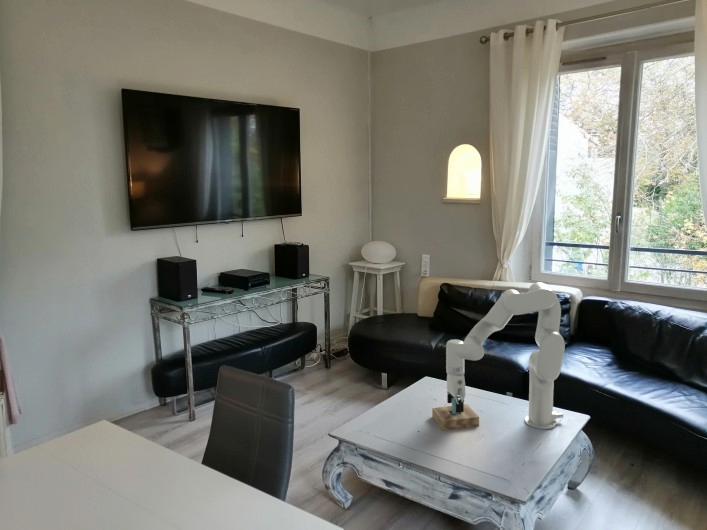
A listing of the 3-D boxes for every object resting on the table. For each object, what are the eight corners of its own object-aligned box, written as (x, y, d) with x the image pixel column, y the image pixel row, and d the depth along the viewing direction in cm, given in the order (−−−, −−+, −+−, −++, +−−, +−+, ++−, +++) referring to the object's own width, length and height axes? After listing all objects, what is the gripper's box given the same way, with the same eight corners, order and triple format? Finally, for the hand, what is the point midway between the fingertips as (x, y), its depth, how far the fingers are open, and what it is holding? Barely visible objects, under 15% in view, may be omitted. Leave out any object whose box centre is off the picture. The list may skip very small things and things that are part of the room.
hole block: (466, 412, 239) (466, 404, 238) (479, 425, 226) (479, 416, 225) (432, 416, 236) (432, 408, 235) (442, 430, 223) (442, 421, 222)
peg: (457, 419, 233) (457, 397, 231) (459, 422, 230) (460, 400, 228) (450, 420, 232) (450, 398, 230) (453, 423, 229) (453, 401, 228)
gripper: (472, 375, 219) (471, 415, 222) (456, 361, 236) (455, 398, 239) (454, 377, 218) (454, 417, 221) (439, 363, 235) (439, 400, 238)
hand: (455, 407), depth 230 cm, fingers open, 9 cm apart
